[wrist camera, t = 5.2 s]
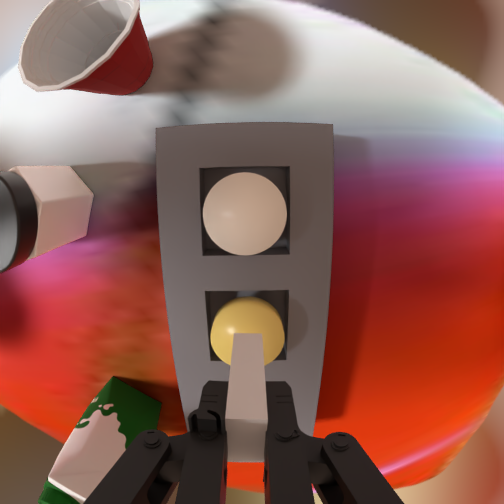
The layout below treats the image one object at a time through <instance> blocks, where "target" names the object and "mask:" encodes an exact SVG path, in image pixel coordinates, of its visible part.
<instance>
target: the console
mask: <svg viewBox="0 0 504 504" xmlns="http://www.w3.org/2000/svg"><path fill="white" fill-rule="evenodd" d="M242 172H248V173H255V174H258V175H261V176H263V177H265V178H267V179H268V180H270V181H271V182H272V183H273V184H274V185H275V186H276V187H277V188H278V189H279V191H280V192H281V194H282V196H283V198H284V201H285V204H286V210H287V218H286V224H285V227H284V230H283V232H282V234H281V236H280V237H279V239H278V240H277V241H276V242H275V243H274V244H273V245H272V246H271V247H269V248H268V249H266V250H265V251H263V252H260V253H257V254H253V255H236V254H232V253H229V252H227V251H225V250H223V249H222V248H220V247H219V246H218V245H217V244H215V242H214V241H213V240H212V239H211V238H210V236H209V235H208V233H207V231H206V228H205V225H204V221H203V207H204V203H205V199H206V197H207V195H208V193H209V192H210V190H211V189H212V187H213V186H214V185H215V184H216V183H217V182H219V181H220V180H221V179H223V178H225V177H227V176H229V175H232V174H235V173H242ZM156 179H157V204H158V222H159V237H160V250H161V261H162V272H163V282H164V291H165V300H166V308H167V316H168V324H169V331H170V338H171V344H172V351H173V357H174V363H175V369H176V375H177V381H178V386H179V392H180V397H181V402H182V407H183V412H184V417H185V422H186V426H187V431H188V432H189V431H190V430H189V424H188V416H189V414H190V413H191V412H192V411H194V410H196V409H198V407H199V403H200V398H201V393H202V389H203V386H204V385H205V384H206V383H207V382H208V381H209V380H211V381H229V375H230V365H229V364H227V363H225V362H224V361H222V360H221V359H220V358H219V357H218V356H217V355H216V353H215V352H214V350H213V348H212V345H211V337H210V335H211V330H212V326H213V321H214V318H215V315H216V313H217V312H218V310H219V309H220V308H221V307H222V306H223V305H224V304H225V303H227V302H228V301H230V300H232V299H235V298H238V297H244V296H251V297H257V298H260V299H263V300H265V301H267V302H268V303H270V304H271V305H272V306H273V307H274V308H275V309H276V310H277V311H278V313H279V315H280V317H281V320H282V325H283V330H284V338H285V339H284V345H283V348H282V350H281V352H280V354H279V355H278V356H277V357H276V358H275V359H274V360H273V361H272V362H270V363H269V364H267V365H265V366H264V369H265V381H286V382H287V383H288V385H289V386H290V387H291V389H292V395H293V400H294V406H295V411H296V417H297V423H298V426H299V428H300V430H301V431H302V432H303V433H305V434H307V435H309V436H312V437H313V431H314V425H315V418H316V412H317V405H318V398H319V391H320V384H321V376H322V368H323V359H324V350H325V341H326V331H327V320H328V308H329V295H330V281H331V263H332V242H333V208H334V150H333V124H317V123H290V122H241V123H215V124H198V125H184V126H173V127H163V128H156Z"/></svg>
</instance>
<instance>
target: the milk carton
mask: <svg viewBox="0 0 504 504" xmlns="http://www.w3.org/2000/svg"><path fill="white" fill-rule="evenodd" d="M161 405H162V403H160V402H158V401H157V400H155V399H153V398H151V397H149V396H147V395H145V394H143V393H142V392H140V391H138V390H136V389H134V388H133V387H131V386H129V385H127V384H126V383H124V382H122V381H121V380H119V379H117V378H116V377H114V376H113V377H112V378H111V379H110V380H109V382H108V383H107V384H106V385H105V386H104V387H103V389H102V390H101V391H100V392H99V393H98V395H97V396H96V397H95V398H94V399H93V401H92V402H91V403H90V405H89V406H88V408H87V409H86V411H85V412H84V414H83V415H82V417H81V418H80V420H79V422H78V423H77V425H76V427H75V428H74V430H73V431H72V433H71V435H70V436H69V438H68V440H67V441H66V443H65V445H64V447H63V448H62V450H61V452H60V454H59V456H58V457H57V460H56V461H55V464H54V466H53V468H52V470H51V472H50V474H49V476H48V478H47V481H46V482H45V484H44V490H43V492H42V494H41V496H40V498H39V500H38V503H39V504H83V503H84V501H85V500H86V499H87V498H88V497H89V495H90V494H91V493H92V492H93V490H94V489H95V488H96V487H97V485H98V484H99V483H100V482H101V480H102V479H103V478H104V477H105V475H106V474H107V473H108V472H109V470H110V469H111V468H112V467H113V465H114V464H115V463H116V462H117V460H118V459H119V458H120V457H121V455H122V454H123V453H124V452H125V450H126V449H127V448H128V446H129V445H130V444H131V443H132V441H133V440H134V439H135V438H136V436H137V435H138V434H140V433H141V432H143V431H145V430H151V429H155V430H157V424H158V419H159V414H160V409H161Z"/></svg>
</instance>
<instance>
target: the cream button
mask: <svg viewBox="0 0 504 504" xmlns="http://www.w3.org/2000/svg"><path fill="white" fill-rule="evenodd" d="M286 218H287V210H286V204H285V201H284V198H283V196H282V194H281V192H280V191H279V189H278V188H277V187H276V186H275V185H274V184H273V183H272V182H271V181H270V180H268V179H267V178H265V177H263V176H261V175H258V174H255V173H248V172H242V173H235V174H232V175H229V176H227V177H225V178H223V179H221V180H220V181H219V182H217V183H216V184H215V185H214V186H213V187H212V189H211V190H210V192H209V193H208V195H207V197H206V199H205V203H204V207H203V221H204V225H205V228H206V231H207V233H208V235H209V236H210V238H211V239H212V240H213V241H214V242H215V244H217V245H218V246H219V247H220V248H222V249H223V250H225V251H227V252H229V253H232V254H236V255H253V254H257V253H260V252H263V251H265V250H266V249H268V248H269V247H271V246H272V245H273V244H274V243H275V242H276V241H277V240H278V239H279V237H280V236H281V234H282V232H283V230H284V227H285V224H286Z"/></svg>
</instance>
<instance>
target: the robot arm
mask: <svg viewBox="0 0 504 504" xmlns="http://www.w3.org/2000/svg"><path fill="white" fill-rule="evenodd" d="M188 424H189V430H190V431H189V432H187V433H185V434H182V435H177V436H169V437H168V436H167V435H166V433H164V432H162V431H160V430H155V429H151V430H145V431H143V432H141V433H140V434H138V435H137V436H136V438H135V439H134V440H133V441H132V443H131V444H130V445H129V446H128V448H127V449H126V450H125V452H124V453H123V454H122V455H121V457H120V458H119V459H118V460H117V462H116V463H115V464H114V465H113V467H112V468H111V469H110V470H109V472H108V473H107V474H106V475H105V477H104V478H103V479H102V480H101V482H100V483H99V484H98V485H97V487H96V488H95V489H94V490H93V492H92V493H91V494H90V495H89V497H88V498H87V499H86V500H85V501H84V503H83V504H166V503H167V502H168V500H169V498H170V496H171V495H172V493H173V491H174V489H175V488H176V486H177V484H178V482H179V487H178V492H177V497H176V502H175V504H225V501H226V486H227V462H264V465H265V466H264V477H263V482H264V489H265V504H315V502H314V496H313V490H312V484H313V486H314V488H315V490H316V492H317V493H318V495H319V497H320V499H321V501H322V503H323V504H404V503H403V502H402V500H401V499H400V498H399V496H398V495H397V494H396V492H395V491H394V490H393V488H392V487H391V486H390V484H389V483H388V482H387V480H386V479H385V478H384V476H383V475H382V474H381V472H380V471H379V470H378V468H377V467H376V466H375V464H374V463H373V462H372V460H371V459H370V458H369V456H368V455H367V454H366V452H365V451H364V450H363V448H362V447H361V445H360V444H359V443H358V441H357V440H356V439H355V438H354V437H353V436H352V435H350V434H348V433H344V432H335V433H331V434H329V435H327V436H326V437H325V439H322V438H316V437H312V436H309V435H307V434H305V433H303V432H302V431H301V430H300V428H299V426H298V423H297V417H296V411H295V406H294V400H293V395H292V389H291V387H290V386H289V385H288V383H287V382H286V381H265V369H264V354H263V339H262V334H259V333H234V337H233V346H232V356H231V365H230V375H229V381H211V380H209V381H208V382H207V383H206V384H205V385H204V386H203V389H202V393H201V398H200V403H199V407H198V409H196V410H194V411H192V412H191V413H190V414H189V416H188ZM311 483H312V484H311Z"/></svg>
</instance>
